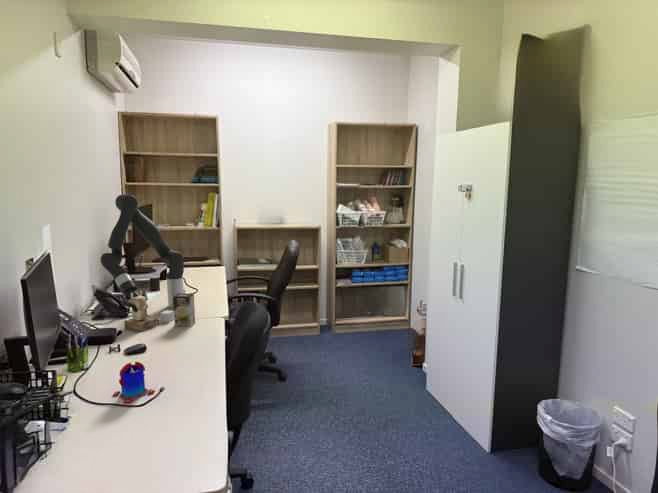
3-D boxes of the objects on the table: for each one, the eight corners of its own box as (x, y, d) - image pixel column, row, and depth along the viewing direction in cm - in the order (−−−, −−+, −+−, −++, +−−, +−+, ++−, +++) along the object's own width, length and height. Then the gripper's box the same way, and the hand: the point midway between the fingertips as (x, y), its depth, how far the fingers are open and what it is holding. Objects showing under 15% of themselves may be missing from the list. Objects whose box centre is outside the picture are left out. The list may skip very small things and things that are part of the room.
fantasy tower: (141, 383, 167) (138, 353, 166) (157, 392, 160) (155, 361, 158) (109, 395, 158) (106, 363, 157) (125, 405, 151) (122, 372, 149)
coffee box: (174, 326, 230) (172, 296, 228) (179, 322, 237) (177, 293, 234) (191, 326, 229) (189, 296, 227) (196, 322, 236) (194, 293, 233)
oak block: (141, 316, 232) (139, 295, 230) (147, 317, 229) (145, 297, 227) (132, 318, 228) (131, 297, 226) (138, 320, 225) (137, 299, 223)
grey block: (166, 319, 242) (165, 310, 241) (174, 319, 241) (173, 310, 240) (160, 322, 237) (160, 313, 237) (169, 322, 236) (168, 313, 235)
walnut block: (143, 322, 237) (143, 315, 236) (156, 326, 231) (156, 318, 230) (124, 328, 228) (124, 320, 227) (137, 332, 222) (137, 324, 221)
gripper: (115, 282, 223) (131, 309, 219) (140, 277, 235) (156, 302, 231) (110, 291, 227) (126, 318, 223) (135, 285, 239) (151, 310, 234)
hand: (141, 309), depth 227 cm, fingers closed on oak block, 5 cm apart
